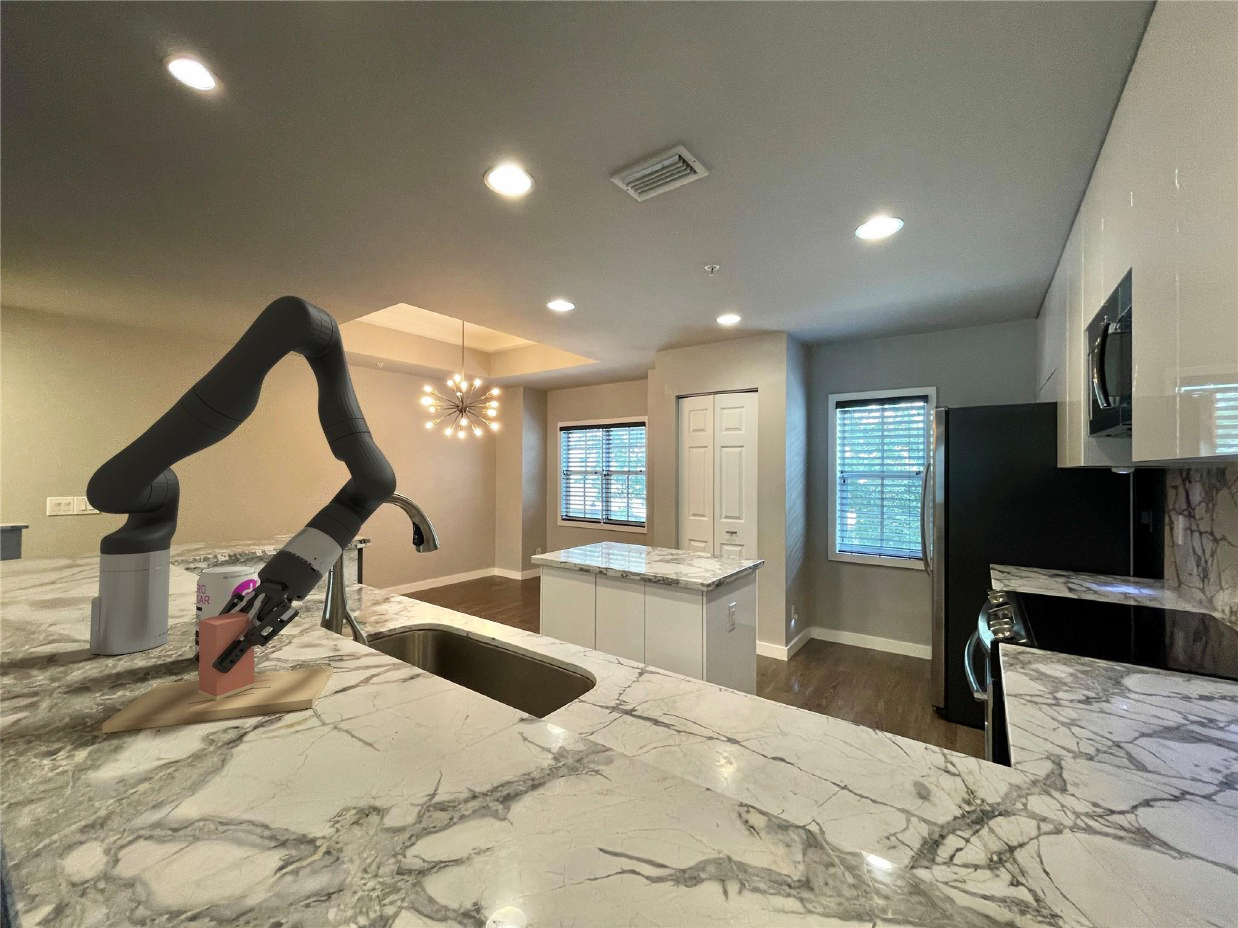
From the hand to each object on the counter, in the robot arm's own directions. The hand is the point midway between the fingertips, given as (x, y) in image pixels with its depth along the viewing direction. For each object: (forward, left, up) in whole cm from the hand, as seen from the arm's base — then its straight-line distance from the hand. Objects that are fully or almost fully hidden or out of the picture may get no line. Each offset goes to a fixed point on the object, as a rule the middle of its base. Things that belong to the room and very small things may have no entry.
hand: (209, 666), depth 67 cm
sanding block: (+2, +2, -4) cm, 5 cm away
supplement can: (-6, +21, -5) cm, 23 cm away
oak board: (+2, +1, -5) cm, 6 cm away
